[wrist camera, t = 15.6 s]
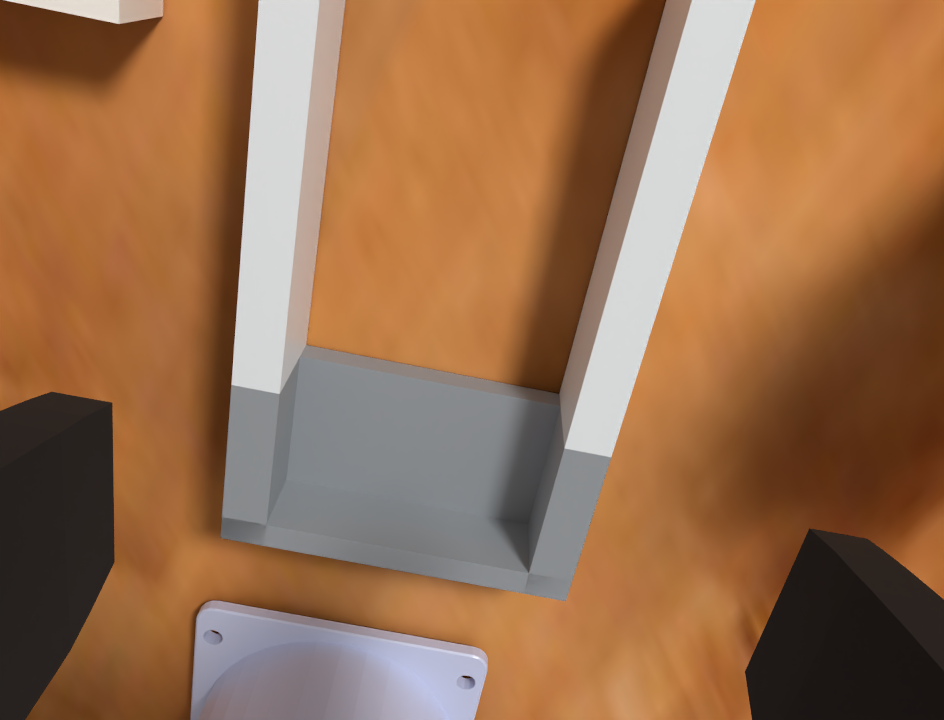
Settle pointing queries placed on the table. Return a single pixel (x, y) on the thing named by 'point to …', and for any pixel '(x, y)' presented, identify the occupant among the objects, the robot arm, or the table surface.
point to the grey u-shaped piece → (411, 473)
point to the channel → (624, 237)
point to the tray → (103, 8)
